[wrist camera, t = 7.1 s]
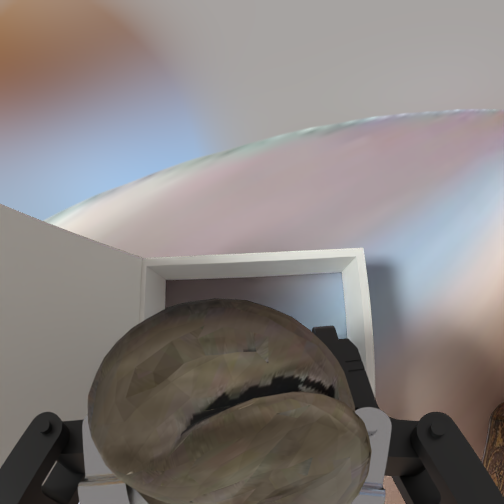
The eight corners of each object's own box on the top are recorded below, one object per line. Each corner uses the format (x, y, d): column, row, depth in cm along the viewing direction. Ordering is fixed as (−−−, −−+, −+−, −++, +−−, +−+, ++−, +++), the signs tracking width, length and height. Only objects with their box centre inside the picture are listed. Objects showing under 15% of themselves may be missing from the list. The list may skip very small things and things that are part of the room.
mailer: (94, 441, 20) (-71, 494, 2) (92, 275, 25) (-72, 176, 7) (356, 449, 19) (493, 577, 1) (347, 264, 24) (479, 99, 6)
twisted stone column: (311, 379, 17) (458, 453, 3) (246, 433, 16) (211, 610, 2) (252, 314, 19) (227, 204, 4) (187, 369, 18) (7, 402, 3)
